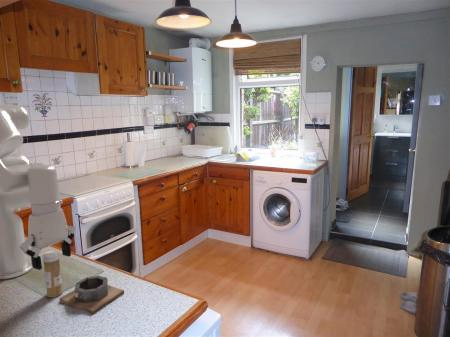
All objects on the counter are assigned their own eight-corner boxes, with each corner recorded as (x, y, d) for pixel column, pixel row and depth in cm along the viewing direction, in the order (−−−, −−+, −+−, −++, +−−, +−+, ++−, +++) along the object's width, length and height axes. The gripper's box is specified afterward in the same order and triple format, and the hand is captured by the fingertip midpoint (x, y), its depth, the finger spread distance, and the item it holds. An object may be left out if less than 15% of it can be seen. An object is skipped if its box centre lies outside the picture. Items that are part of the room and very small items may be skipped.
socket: (66, 299, 98) (65, 288, 97) (96, 282, 107) (95, 272, 107) (88, 307, 94) (87, 296, 93) (116, 289, 103) (115, 278, 103)
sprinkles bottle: (64, 295, 102) (59, 254, 100) (47, 299, 100) (42, 258, 97) (61, 288, 106) (57, 249, 103) (45, 292, 103) (41, 252, 101)
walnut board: (59, 301, 99) (59, 298, 98) (92, 282, 109) (92, 279, 109) (93, 314, 92) (92, 311, 92) (124, 293, 103) (123, 290, 103)
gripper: (63, 199, 107) (69, 249, 110) (8, 214, 92) (16, 271, 94) (79, 201, 103) (85, 253, 106) (25, 217, 88) (33, 277, 91)
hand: (52, 261), depth 100 cm, fingers open, 9 cm apart
